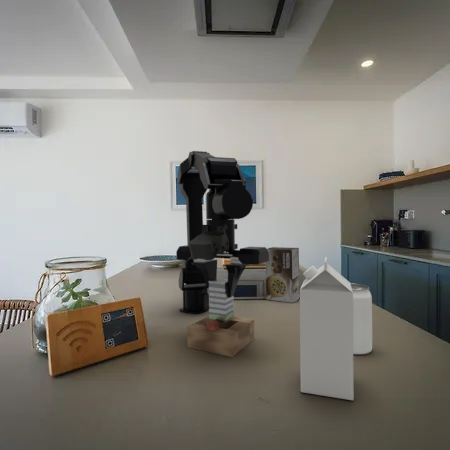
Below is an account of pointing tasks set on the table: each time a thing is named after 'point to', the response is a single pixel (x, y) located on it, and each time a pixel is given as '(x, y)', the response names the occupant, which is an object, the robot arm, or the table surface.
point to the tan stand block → (221, 335)
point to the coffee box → (282, 274)
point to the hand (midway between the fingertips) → (221, 296)
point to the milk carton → (326, 333)
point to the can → (362, 319)
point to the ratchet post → (220, 301)
